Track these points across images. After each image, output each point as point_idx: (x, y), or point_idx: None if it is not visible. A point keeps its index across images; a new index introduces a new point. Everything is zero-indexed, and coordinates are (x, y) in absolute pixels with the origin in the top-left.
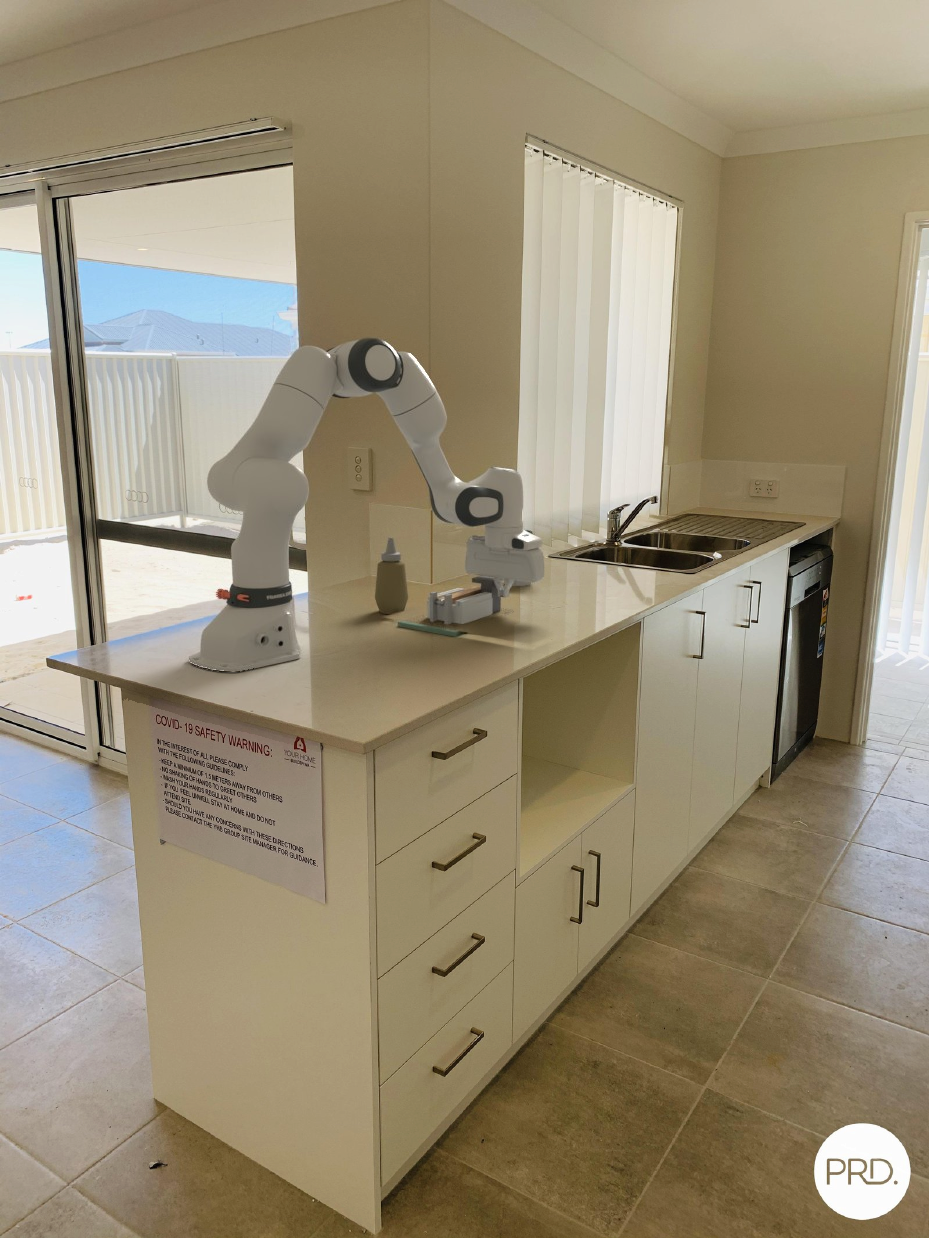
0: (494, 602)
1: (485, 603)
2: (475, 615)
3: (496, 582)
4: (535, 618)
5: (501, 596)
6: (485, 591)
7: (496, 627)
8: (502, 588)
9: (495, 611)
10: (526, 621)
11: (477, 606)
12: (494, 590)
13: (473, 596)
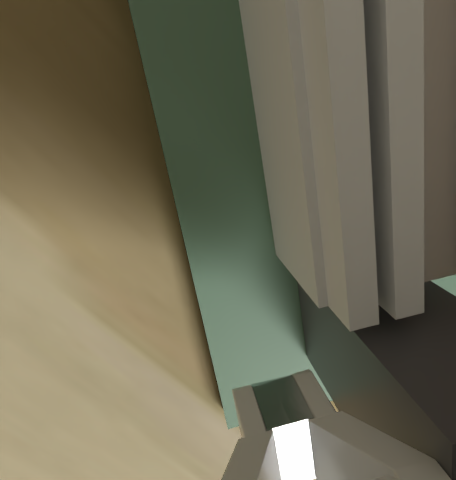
0: (324, 331)
1: (294, 189)
2: (251, 25)
3: (391, 469)
4: (100, 427)
5: (273, 379)
6: (434, 327)
7: (64, 86)
8: (316, 459)
9: (301, 308)
10: (75, 349)
11: (276, 46)
12: (374, 395)
13: (387, 32)
